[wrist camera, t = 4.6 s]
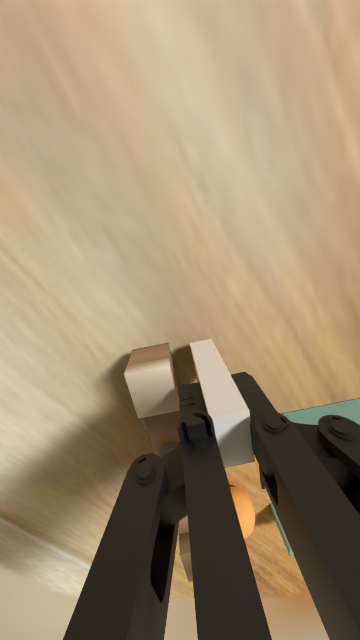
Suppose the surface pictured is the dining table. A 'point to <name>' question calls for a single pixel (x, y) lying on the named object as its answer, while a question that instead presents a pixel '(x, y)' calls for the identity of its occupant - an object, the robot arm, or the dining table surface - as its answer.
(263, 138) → the dining table surface
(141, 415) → the lever
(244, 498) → the ball
